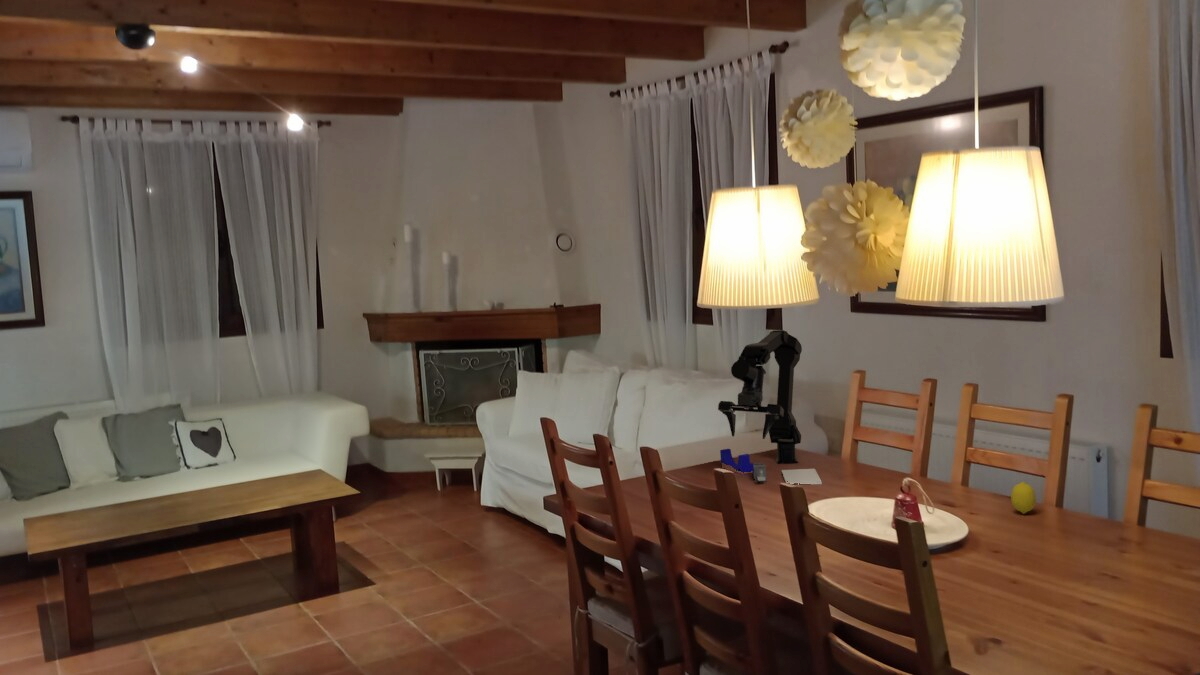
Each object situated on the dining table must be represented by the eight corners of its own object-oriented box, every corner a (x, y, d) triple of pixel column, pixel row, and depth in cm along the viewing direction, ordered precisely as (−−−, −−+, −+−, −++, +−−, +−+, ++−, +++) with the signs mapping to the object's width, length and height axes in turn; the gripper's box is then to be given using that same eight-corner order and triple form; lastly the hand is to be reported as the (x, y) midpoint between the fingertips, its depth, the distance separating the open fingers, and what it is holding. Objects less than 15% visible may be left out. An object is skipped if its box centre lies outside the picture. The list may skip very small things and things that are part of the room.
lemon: (1022, 518, 229) (1021, 485, 228) (1006, 512, 234) (1005, 481, 234) (1041, 515, 230) (1040, 482, 230) (1025, 509, 236) (1024, 478, 235)
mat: (781, 472, 290) (781, 470, 290) (814, 471, 289) (814, 468, 289) (786, 485, 275) (786, 482, 275) (821, 484, 274) (821, 481, 274)
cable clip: (754, 473, 293) (753, 454, 293) (742, 475, 291) (741, 456, 291) (733, 466, 304) (732, 447, 304) (721, 468, 302) (720, 450, 302)
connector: (755, 485, 277) (755, 472, 276) (753, 475, 289) (752, 462, 289) (768, 485, 276) (767, 471, 276) (764, 475, 289) (764, 462, 288)
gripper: (715, 378, 280) (710, 431, 276) (778, 382, 272) (773, 436, 269) (725, 386, 290) (720, 436, 286) (786, 389, 282) (781, 441, 279)
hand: (748, 437), depth 280 cm, fingers open, 9 cm apart
